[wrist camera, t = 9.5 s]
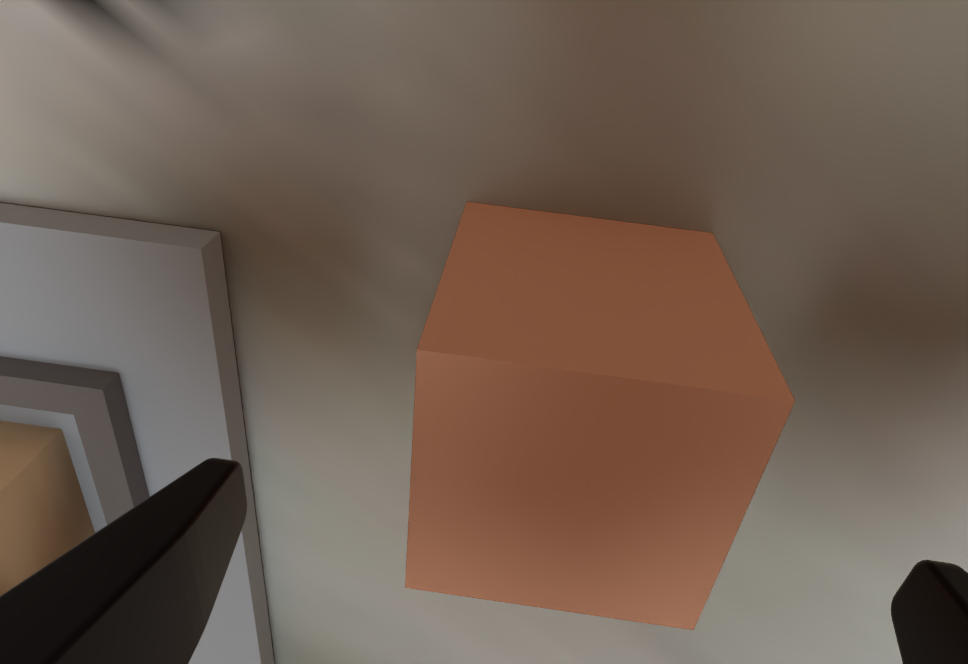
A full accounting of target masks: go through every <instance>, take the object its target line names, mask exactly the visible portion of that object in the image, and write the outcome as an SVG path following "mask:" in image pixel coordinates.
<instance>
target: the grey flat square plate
mask: <svg viewBox="0 0 968 664" xmlns="http://www.w3.org/2000/svg"><path fill="white" fill-rule="evenodd" d="M0 420H1V421H8V422H15V423H22V424H29V425H36V426H43V427H50V428H57V429H62V431H63V434H64V437H65V440H66V443H67V447H68V450H69V453H70V456H71V459H72V462H73V465H74V468H75V471H76V475H77V478H78V481H79V484H80V487H81V490H82V493H83V496H84V499H85V503H86V506H87V509H88V512H89V515H90V518H91V521H92V524H93V527H94V531H95V533H96V532H97V531H99V530H100V529H102V528H103V527H105V526H106V525H108V524H109V523H111V522H112V521H114V520H115V519H117V518H118V517H120V516H121V515H123V514H125V513H126V512H128V511H129V510H131V509H132V508H134V507H135V506H137V505H138V504H140V503H141V502H143V501H144V500H146V499H147V498H149V497H150V496H152V495H153V494H155V493H156V492H158V491H159V490H161V489H162V488H164V487H165V486H167V485H168V484H170V483H171V482H173V481H174V480H176V479H177V478H179V477H180V476H182V475H183V474H185V473H186V472H188V471H189V470H191V469H192V468H194V467H195V466H197V465H198V464H200V463H201V462H203V461H205V460H207V459H209V458H220V459H227V460H234V461H237V462H239V463H240V464H241V466H242V468H243V474H244V482H245V489H246V497H247V514H246V519H245V522H244V525H243V528H242V530H241V533H240V536H239V539H238V541H237V544H236V547H235V549H234V552H233V555H232V558H231V560H230V563H229V566H228V569H227V571H226V574H225V577H224V580H223V582H222V585H221V588H220V591H219V593H218V596H217V599H216V602H215V604H214V607H213V610H212V612H211V615H210V617H209V620H208V623H207V625H206V628H205V630H204V632H203V634H202V636H201V639H200V641H199V643H198V645H197V647H196V649H195V651H194V653H193V655H192V657H191V659H190V661H189V663H188V664H274V656H273V648H272V641H271V633H270V625H269V617H268V609H267V601H266V593H265V585H264V577H263V569H262V561H261V553H260V546H259V538H258V530H257V522H256V514H255V506H254V498H253V490H252V482H251V474H250V466H249V458H248V451H247V443H246V435H245V427H244V419H243V411H242V403H241V395H240V387H239V379H238V371H237V363H236V356H235V348H234V340H233V332H232V324H231V316H230V308H229V300H228V292H227V284H226V276H225V268H224V261H223V253H222V245H221V237H220V232H217V231H210V230H202V229H195V228H187V227H179V226H172V225H164V224H157V223H149V222H142V221H134V220H127V219H119V218H112V217H104V216H96V215H89V214H81V213H74V212H66V211H59V210H51V209H44V208H36V207H29V206H21V205H13V204H6V203H0Z"/></svg>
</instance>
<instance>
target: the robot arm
mask: <svg viewBox="0 0 968 664" xmlns="http://www.w3.org/2000/svg"><path fill="white" fill-rule="evenodd" d="M246 514H247V497H246V489H245V482H244V474H243V468H242V466H241V464H240V463H239V462H237V461H234V460H227V459H220V458H209V459H207V460H205V461H203V462H201V463H200V464H198V465H197V466H195V467H194V468H192V469H191V470H189V471H188V472H186V473H185V474H183V475H182V476H180V477H179V478H177V479H176V480H174V481H173V482H171V483H170V484H168V485H167V486H165V487H164V488H162V489H161V490H159V491H158V492H156V493H155V494H153V495H152V496H150V497H149V498H147V499H146V500H144V501H143V502H141V503H140V504H138V505H137V506H135V507H134V508H132V509H131V510H129V511H128V512H126V513H125V514H123V515H121V516H120V517H118V518H117V519H115V520H114V521H112V522H111V523H109V524H108V525H106V526H105V527H103V528H102V529H100V530H99V531H97V532H96V533H94V534H93V535H91V536H90V537H88V538H87V539H85V540H84V541H82V542H81V543H79V544H78V545H76V546H75V547H73V548H72V549H70V550H69V551H67V552H66V553H64V554H63V555H61V556H60V557H58V558H57V559H55V560H54V561H52V562H51V563H49V564H48V565H46V566H45V567H43V568H42V569H40V570H39V571H37V572H36V573H34V574H33V575H31V576H30V577H28V578H27V579H25V580H24V581H22V582H21V583H19V584H18V585H16V586H15V587H13V588H11V589H10V590H8V591H7V592H5V593H4V594H2V595H1V596H0V664H188V663H189V661H190V659H191V657H192V655H193V653H194V651H195V649H196V647H197V645H198V643H199V641H200V639H201V636H202V634H203V632H204V630H205V628H206V625H207V623H208V620H209V617H210V615H211V612H212V610H213V607H214V604H215V602H216V599H217V596H218V593H219V591H220V588H221V585H222V582H223V580H224V577H225V574H226V571H227V569H228V566H229V563H230V560H231V558H232V555H233V552H234V549H235V547H236V544H237V541H238V539H239V536H240V533H241V530H242V528H243V525H244V522H245V519H246ZM891 616H892V621H893V625H894V629H895V633H896V637H897V641H898V645H899V649H900V653H901V657H902V662H903V664H968V573H967V572H966V571H964V570H963V569H962V568H960V567H959V566H957V565H954V564H951V563H945V562H938V561H931V560H922V561H920V562H918V563H917V564H916V565H915V566H914V567H913V569H912V570H911V572H910V573H909V575H908V576H907V578H906V579H905V581H904V582H903V584H902V585H901V586H900V588H899V589H898V591H897V592H896V594H895V595H894V597H893V600H892V604H891Z"/></svg>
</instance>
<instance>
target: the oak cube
mask: <svg viewBox="0 0 968 664" xmlns="http://www.w3.org/2000/svg"><path fill="white" fill-rule="evenodd" d="M94 533H95V531H94V527H93V524H92V521H91V518H90V515H89V512H88V509H87V506H86V503H85V499H84V496H83V493H82V490H81V487H80V484H79V481H78V478H77V475H76V471H75V468H74V465H73V462H72V459H71V456H70V453H69V450H68V447H67V443H66V440H65V437H64V434H63V431H62V429H57V428H50V427H43V426H36V425H29V424H22V423H15V422H8V421H1V420H0V596H1V595H2V594H4V593H5V592H7V591H8V590H10V589H11V588H13V587H15V586H16V585H18V584H19V583H21V582H22V581H24V580H25V579H27V578H28V577H30V576H31V575H33V574H34V573H36V572H37V571H39V570H40V569H42V568H43V567H45V566H46V565H48V564H49V563H51V562H52V561H54V560H55V559H57V558H58V557H60V556H61V555H63V554H64V553H66V552H67V551H69V550H70V549H72V548H73V547H75V546H76V545H78V544H79V543H81V542H82V541H84V540H85V539H87V538H88V537H90V536H91V535H93V534H94Z"/></svg>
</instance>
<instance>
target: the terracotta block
mask: <svg viewBox="0 0 968 664" xmlns="http://www.w3.org/2000/svg"><path fill="white" fill-rule="evenodd" d="M794 402H795V399H794V397H793V395H792V393H791V391H790V389H789V387H788V385H787V383H786V381H785V379H784V377H783V375H782V373H781V371H780V369H779V367H778V365H777V363H776V361H775V359H774V357H773V355H772V353H771V351H770V349H769V347H768V344H767V342H766V340H765V338H764V336H763V334H762V332H761V330H760V328H759V326H758V324H757V322H756V320H755V318H754V316H753V314H752V312H751V310H750V308H749V306H748V304H747V302H746V300H745V298H744V296H743V294H742V292H741V290H740V287H739V285H738V283H737V281H736V279H735V277H734V275H733V273H732V271H731V269H730V267H729V265H728V263H727V261H726V259H725V257H724V255H723V253H722V251H721V249H720V247H719V245H718V243H717V241H716V239H715V237H714V235H713V233H708V232H700V231H693V230H685V229H677V228H669V227H661V226H653V225H645V224H638V223H630V222H622V221H614V220H606V219H598V218H591V217H583V216H575V215H567V214H559V213H551V212H543V211H536V210H528V209H520V208H512V207H504V206H496V205H489V204H481V203H473V202H466V205H465V208H464V211H463V214H462V217H461V220H460V223H459V226H458V229H457V232H456V235H455V238H454V241H453V244H452V247H451V250H450V253H449V256H448V259H447V262H446V265H445V268H444V271H443V274H442V277H441V280H440V283H439V285H438V288H437V291H436V294H435V297H434V300H433V303H432V306H431V309H430V312H429V315H428V318H427V321H426V324H425V327H424V330H423V333H422V336H421V339H420V342H419V345H418V348H417V359H416V379H415V400H414V420H413V440H412V460H411V480H410V500H409V521H408V541H407V561H406V581H405V588H411V589H418V590H425V591H432V592H438V593H445V594H452V595H459V596H465V597H472V598H479V599H486V600H493V601H499V602H506V603H513V604H520V605H527V606H533V607H540V608H547V609H554V610H561V611H567V612H574V613H581V614H588V615H594V616H601V617H608V618H615V619H622V620H628V621H635V622H642V623H649V624H656V625H662V626H669V627H676V628H683V629H690V630H694V628H695V626H696V624H697V621H698V619H699V617H700V614H701V612H702V610H703V608H704V605H705V603H706V601H707V599H708V596H709V594H710V592H711V590H712V587H713V585H714V583H715V581H716V578H717V576H718V574H719V572H720V569H721V567H722V565H723V563H724V560H725V558H726V556H727V554H728V551H729V549H730V547H731V544H732V542H733V540H734V538H735V535H736V533H737V531H738V529H739V526H740V524H741V522H742V520H743V517H744V515H745V513H746V511H747V508H748V506H749V504H750V502H751V499H752V497H753V495H754V493H755V490H756V488H757V486H758V484H759V481H760V479H761V477H762V474H763V472H764V470H765V468H766V465H767V463H768V461H769V459H770V456H771V454H772V452H773V450H774V447H775V445H776V443H777V441H778V438H779V436H780V434H781V432H782V429H783V427H784V425H785V423H786V420H787V418H788V416H789V414H790V411H791V409H792V407H793V404H794Z"/></svg>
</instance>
